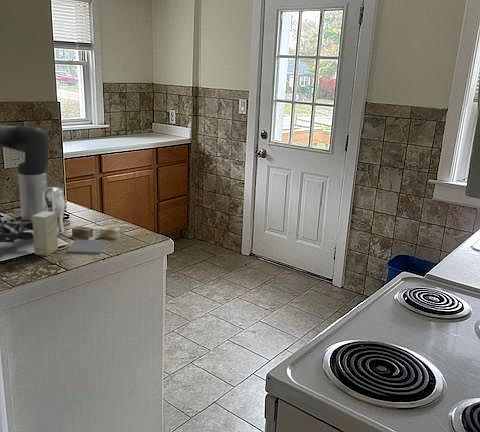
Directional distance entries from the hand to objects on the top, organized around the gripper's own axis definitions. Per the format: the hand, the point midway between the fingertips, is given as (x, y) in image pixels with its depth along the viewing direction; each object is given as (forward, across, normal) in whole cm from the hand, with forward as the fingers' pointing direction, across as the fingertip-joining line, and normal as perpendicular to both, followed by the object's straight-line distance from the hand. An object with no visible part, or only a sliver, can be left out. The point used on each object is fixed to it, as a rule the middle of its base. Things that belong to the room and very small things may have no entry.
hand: (37, 231), depth 145 cm
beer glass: (-1, +18, +7) cm, 19 cm away
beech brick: (+18, +16, +7) cm, 25 cm away
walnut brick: (+9, +15, +7) cm, 19 cm away
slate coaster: (+13, +5, +6) cm, 16 cm away
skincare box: (+2, 0, +7) cm, 7 cm away
